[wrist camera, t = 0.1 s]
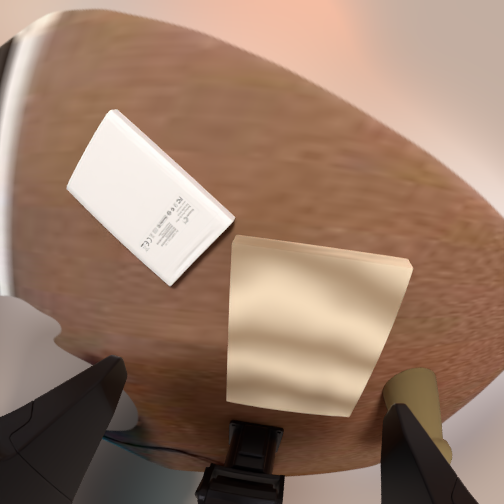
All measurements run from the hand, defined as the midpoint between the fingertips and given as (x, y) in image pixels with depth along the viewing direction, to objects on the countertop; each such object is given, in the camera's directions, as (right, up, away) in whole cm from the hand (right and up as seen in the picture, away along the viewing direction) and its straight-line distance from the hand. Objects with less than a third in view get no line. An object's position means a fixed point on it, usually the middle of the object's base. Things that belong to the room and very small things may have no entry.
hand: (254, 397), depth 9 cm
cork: (+16, -9, +18) cm, 26 cm away
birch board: (+5, -3, +17) cm, 18 cm away
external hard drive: (-8, +9, +15) cm, 19 cm away
